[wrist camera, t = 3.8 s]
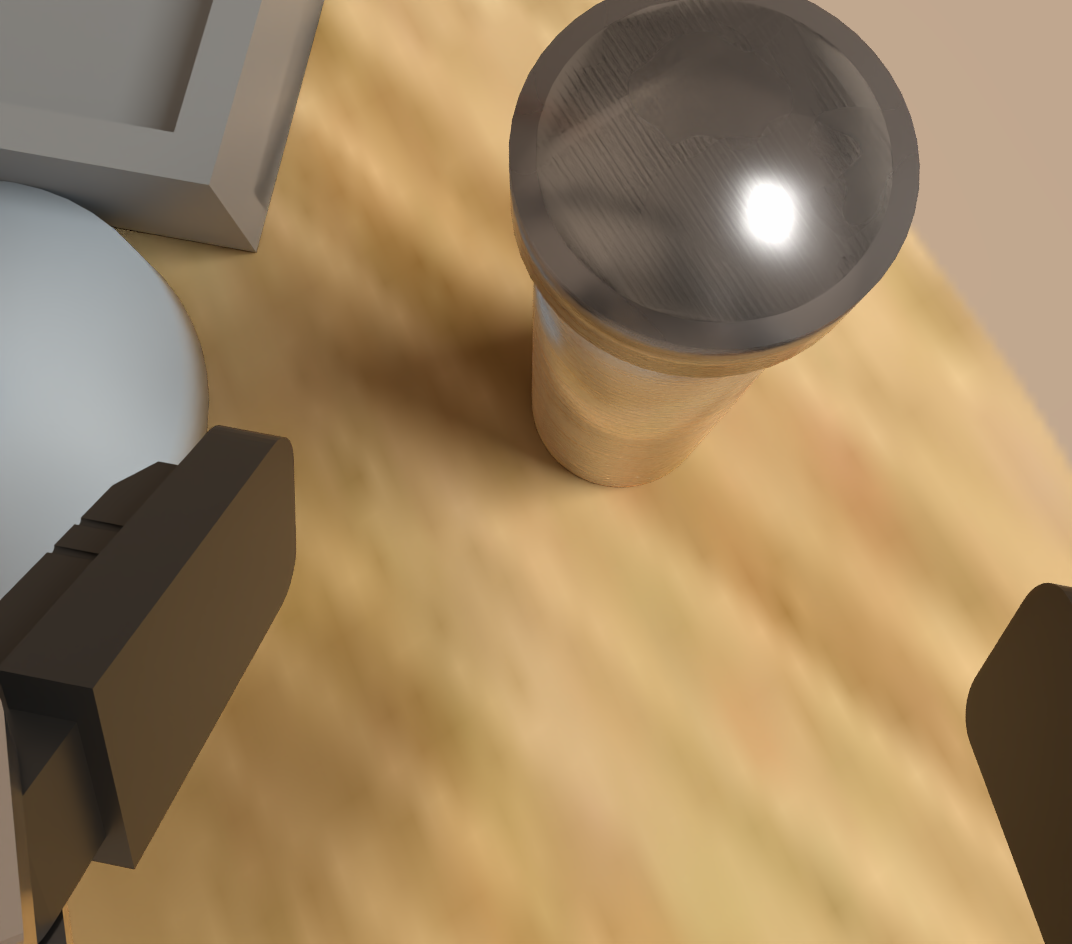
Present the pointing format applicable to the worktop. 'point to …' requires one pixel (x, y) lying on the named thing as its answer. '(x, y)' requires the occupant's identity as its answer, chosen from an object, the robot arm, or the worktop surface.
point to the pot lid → (83, 370)
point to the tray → (154, 108)
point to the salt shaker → (695, 214)
